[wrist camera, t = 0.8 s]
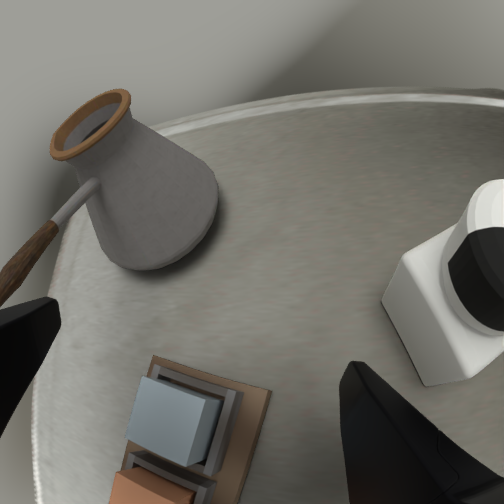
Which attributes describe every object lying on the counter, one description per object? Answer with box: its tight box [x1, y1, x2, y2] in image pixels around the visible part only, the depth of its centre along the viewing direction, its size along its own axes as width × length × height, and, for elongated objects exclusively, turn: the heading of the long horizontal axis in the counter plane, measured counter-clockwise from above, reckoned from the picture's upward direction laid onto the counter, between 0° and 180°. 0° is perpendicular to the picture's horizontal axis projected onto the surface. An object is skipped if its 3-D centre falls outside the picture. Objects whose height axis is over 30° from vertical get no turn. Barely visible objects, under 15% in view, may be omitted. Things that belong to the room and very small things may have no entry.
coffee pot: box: [0, 89, 218, 307], centre depth 18 cm, size 21×12×15 cm, turn 175°
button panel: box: [121, 355, 272, 504], centre depth 15 cm, size 20×8×3 cm, turn 164°
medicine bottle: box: [381, 179, 504, 387], centre depth 13 cm, size 7×7×12 cm
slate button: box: [125, 376, 224, 467], centre depth 15 cm, size 4×4×3 cm
